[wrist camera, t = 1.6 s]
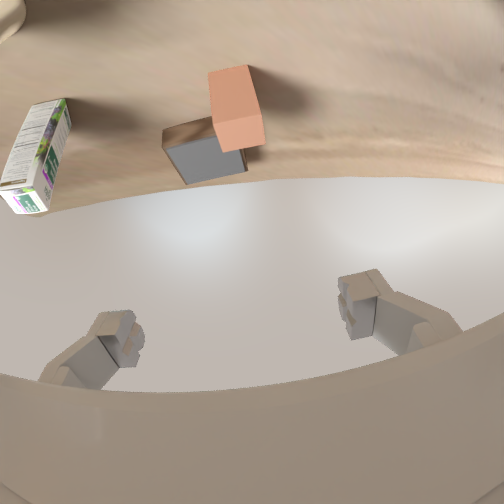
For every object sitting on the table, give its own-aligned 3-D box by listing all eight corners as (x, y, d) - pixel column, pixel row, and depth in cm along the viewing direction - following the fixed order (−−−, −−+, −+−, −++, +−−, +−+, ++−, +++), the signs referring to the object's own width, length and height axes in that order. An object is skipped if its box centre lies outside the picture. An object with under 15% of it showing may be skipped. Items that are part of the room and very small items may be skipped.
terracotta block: (247, 64, 28) (261, 114, 25) (252, 92, 33) (265, 144, 30) (207, 72, 29) (212, 124, 26) (216, 99, 34) (222, 152, 30)
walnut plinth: (234, 111, 36) (237, 130, 35) (245, 154, 47) (248, 172, 45) (162, 129, 37) (161, 149, 36) (185, 168, 47) (186, 186, 46)
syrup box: (73, 125, 31) (51, 211, 26) (40, 131, 29) (15, 216, 24) (65, 97, 25) (34, 186, 21) (30, 104, 24) (-5, 193, 19)
